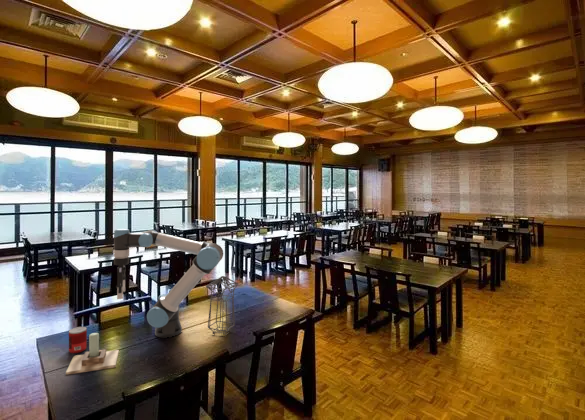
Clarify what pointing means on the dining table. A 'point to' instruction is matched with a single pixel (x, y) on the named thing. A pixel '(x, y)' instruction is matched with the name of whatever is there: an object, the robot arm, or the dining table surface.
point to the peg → (94, 345)
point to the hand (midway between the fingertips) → (121, 295)
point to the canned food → (77, 339)
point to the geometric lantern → (223, 302)
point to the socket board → (104, 365)
